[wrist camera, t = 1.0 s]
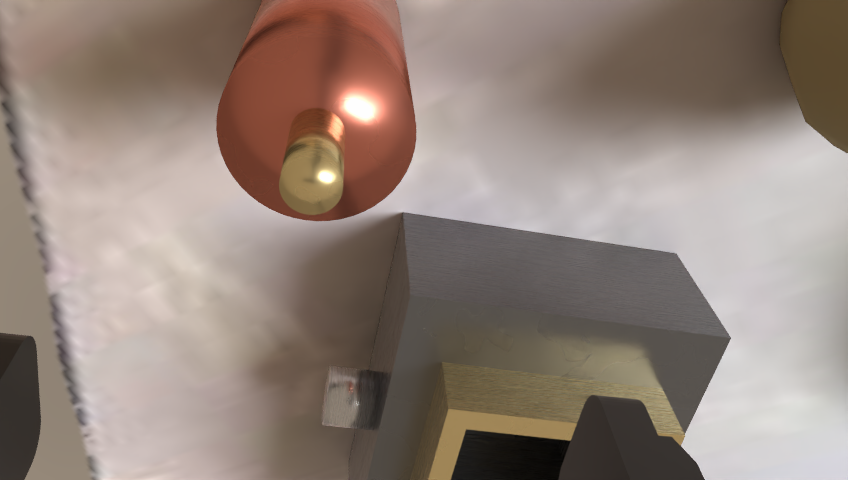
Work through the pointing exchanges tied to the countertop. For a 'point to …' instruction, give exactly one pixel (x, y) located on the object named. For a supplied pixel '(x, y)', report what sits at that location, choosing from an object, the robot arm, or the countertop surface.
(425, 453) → the grey drawer box
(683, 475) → the robot arm
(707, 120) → the countertop surface
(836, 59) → the squeeze bottle
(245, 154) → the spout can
